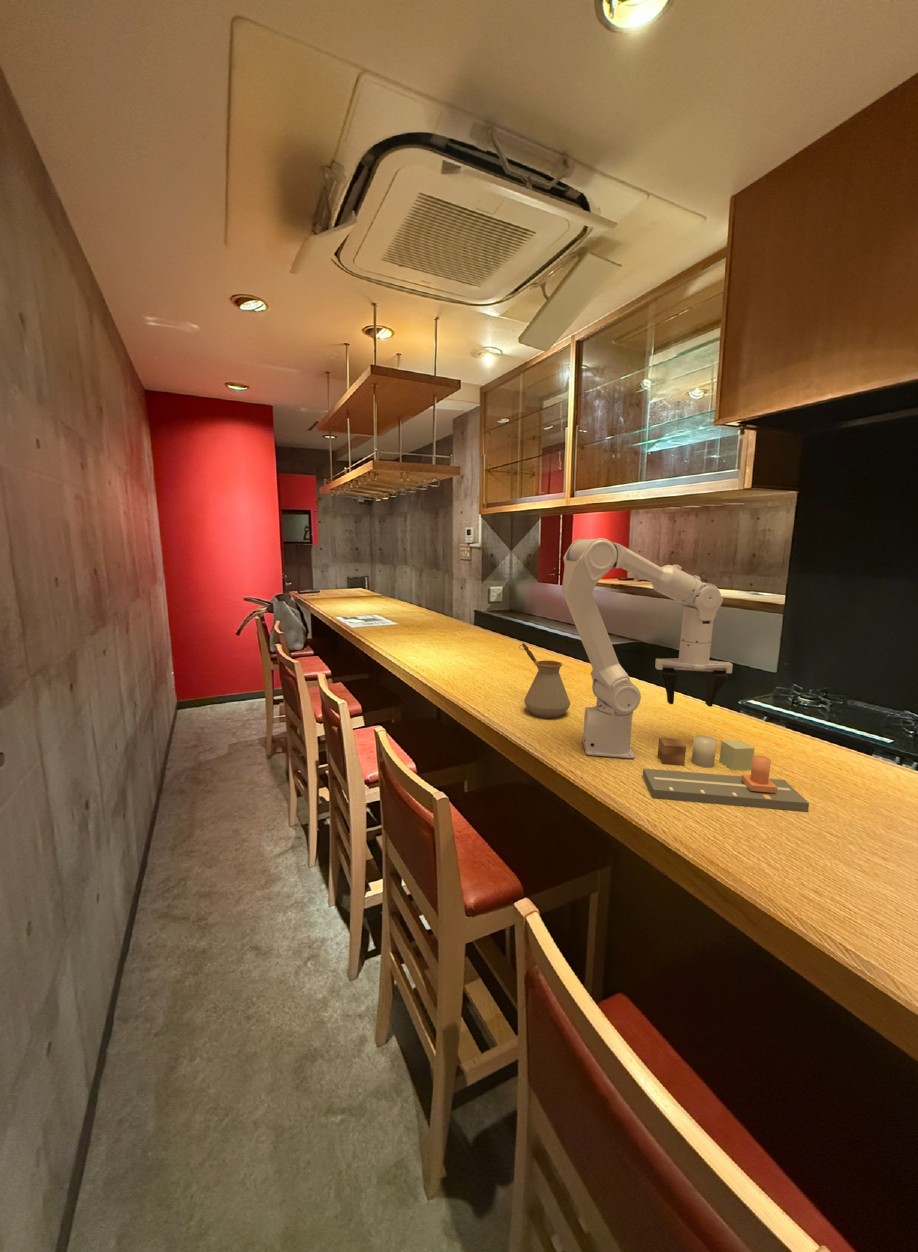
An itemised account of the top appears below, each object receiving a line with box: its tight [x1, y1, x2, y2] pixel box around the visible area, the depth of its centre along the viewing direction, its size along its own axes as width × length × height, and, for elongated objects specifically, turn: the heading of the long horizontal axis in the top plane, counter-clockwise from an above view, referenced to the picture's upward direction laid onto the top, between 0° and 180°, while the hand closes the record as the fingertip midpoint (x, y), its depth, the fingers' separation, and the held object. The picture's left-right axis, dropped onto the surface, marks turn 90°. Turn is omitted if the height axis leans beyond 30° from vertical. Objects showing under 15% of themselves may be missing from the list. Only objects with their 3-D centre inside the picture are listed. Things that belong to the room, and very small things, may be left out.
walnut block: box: [657, 737, 687, 767], centre depth 97 cm, size 4×4×4 cm
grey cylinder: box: [691, 734, 717, 769], centre depth 96 cm, size 4×4×5 cm
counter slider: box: [740, 754, 777, 793], centre depth 83 cm, size 4×4×5 cm
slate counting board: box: [642, 767, 810, 813], centre depth 84 cm, size 24×8×2 cm, turn 81°
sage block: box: [718, 739, 755, 772], centre depth 95 cm, size 4×4×4 cm
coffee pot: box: [518, 642, 571, 719], centre depth 127 cm, size 21×12×15 cm, turn 18°
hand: (689, 703), depth 103 cm, fingers open, 7 cm apart
